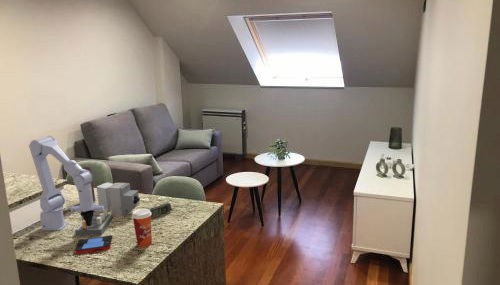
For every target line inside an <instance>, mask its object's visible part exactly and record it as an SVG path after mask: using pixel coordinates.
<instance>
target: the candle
mask: <svg viewBox="0 0 500 285" xmlns="http://www.w3.org/2000/svg"><path fill="white" fill-rule="evenodd" d="M81 168H82V169H85V170H88V171H90V172H91V173H92V167H91V166H84V167H82V166H81ZM92 174H93V173H92ZM90 183H91V188H92V196H93V203H94V202H95V201H96V194H95V187H94V181H92V182H90Z"/></svg>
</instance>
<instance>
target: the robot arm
mask: <svg viewBox="0 0 500 285" xmlns="http://www.w3.org/2000/svg"><path fill="white" fill-rule="evenodd" d="M28 147H29V150H30V154H31V157H32V162H34V163H33V164H34V167H35V169H36V173H37V176H38V180H39V182H40V183H39V184H40V186H41V190H42V192H41V195H39V196H40V197H39V206H40V207H39V208H41V212H40V216H39V218H40V219H39V220H40V226H41V231H61V230H63V229H64V228H65V226H67V224H68V221H65V219H64V212H63V211H64V210H63V208H64V205H65V204H66V198H65V196H64V195H63V194H62V191H61V190H60V189H58V188H56V185H55V182H54V179H53V175H52V172H51V169H50V166H49V163H48V160H47V156H48V155H52V157H53V158H55V159H56V160H57V161H58V162H59V163H61V164H62V165H63V170H64V171H65V172H66V173H68V175H69V176H70V177H71V178H72V179H73V184H74V185H75V188H76V190H77V194H78V199H79V200H78V202H79V205H74V206H70V212H71V213H74V212H80V216H81V217H82V218H83V221H84V220H85V222H86V224H87V226H91V225H92V218H93V215H95V211H97V212H98V211H99V212H103V210H104V206H101V205H99V204H94V202H93V196H92V188H91V183H90V182H92V181H93V180H94V176H93V173H91V172H90V171H88V170H85V169H82V166H81V165H80V164H78V163H77V161H76V160H74V159H70V158H69V157H68V155H66V154H65V152H64V151H63V150H62V149H61V147H60V146H59V142H58V140H57V139H56V138H55V137H54V136H53V135H47V136H44V137H41V138H37V139H33V140H30V144H29V145H28ZM93 182H94V181H93Z"/></svg>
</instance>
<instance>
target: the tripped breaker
mask: <svg viewBox="0 0 500 285" xmlns="http://www.w3.org/2000/svg"><path fill="white" fill-rule="evenodd" d="M81 223H82V225H83V229H86V228H87V227H88V226H87V224H86V222H85V221H84V220H83V221H82V222H81Z"/></svg>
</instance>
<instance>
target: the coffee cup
mask: <svg viewBox="0 0 500 285" xmlns="http://www.w3.org/2000/svg"><path fill="white" fill-rule="evenodd" d="M149 209H150V208H137V209H135V210H134V211H132V214H131V218H132V221H133V225H134V226H133V228H134V231H135V237H136V239H135V240H136V244H137V246H138V247H139V248H145V247H149V246H151V245H152V238H153V237H152V236H153V235H152V219H151V214H152V213H151V212H150V210H149Z"/></svg>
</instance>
